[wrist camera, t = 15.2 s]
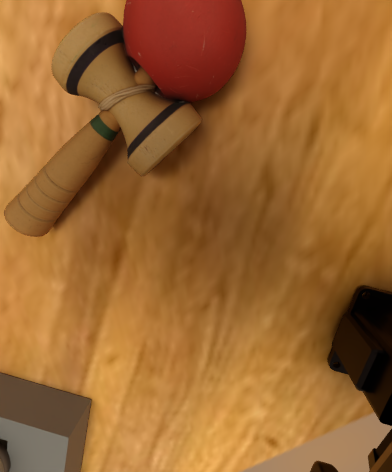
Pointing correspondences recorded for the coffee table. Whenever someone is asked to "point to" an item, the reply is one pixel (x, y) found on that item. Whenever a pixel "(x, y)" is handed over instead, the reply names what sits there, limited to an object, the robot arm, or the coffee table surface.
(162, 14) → the kendama
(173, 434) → the coffee table surface
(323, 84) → the coffee table surface
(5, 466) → the peg
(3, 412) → the board
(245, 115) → the coffee table surface
